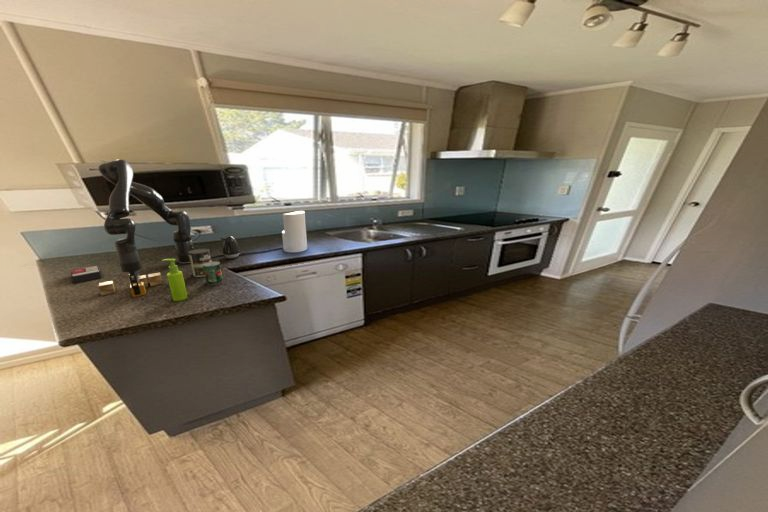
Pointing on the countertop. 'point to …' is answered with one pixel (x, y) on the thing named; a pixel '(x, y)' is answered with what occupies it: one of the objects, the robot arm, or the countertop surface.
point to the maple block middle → (144, 280)
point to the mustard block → (142, 289)
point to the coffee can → (199, 261)
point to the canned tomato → (213, 273)
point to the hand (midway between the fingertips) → (138, 291)
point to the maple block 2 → (155, 279)
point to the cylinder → (294, 232)
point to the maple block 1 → (106, 288)
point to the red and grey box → (85, 274)
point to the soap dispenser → (176, 282)
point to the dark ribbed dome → (230, 247)
